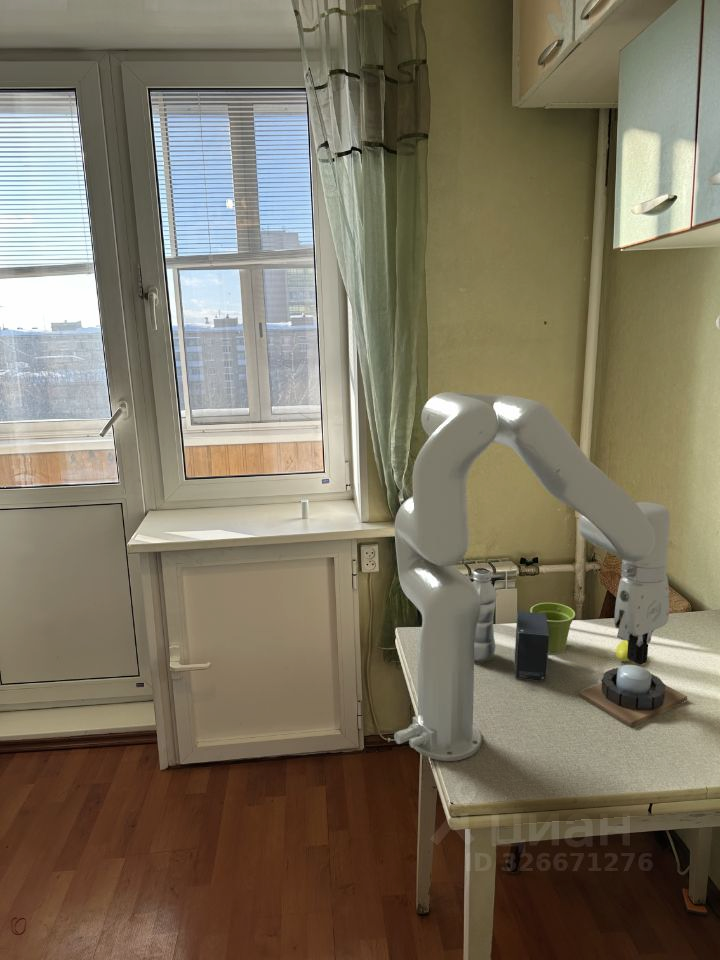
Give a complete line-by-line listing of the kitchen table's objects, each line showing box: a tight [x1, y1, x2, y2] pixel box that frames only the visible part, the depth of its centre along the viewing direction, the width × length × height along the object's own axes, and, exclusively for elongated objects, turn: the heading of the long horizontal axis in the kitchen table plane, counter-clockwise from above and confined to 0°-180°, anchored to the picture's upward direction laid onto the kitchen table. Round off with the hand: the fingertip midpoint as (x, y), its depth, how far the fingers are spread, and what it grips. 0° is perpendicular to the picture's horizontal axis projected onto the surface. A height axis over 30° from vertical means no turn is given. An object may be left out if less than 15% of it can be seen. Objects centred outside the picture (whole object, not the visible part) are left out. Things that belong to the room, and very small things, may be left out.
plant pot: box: [529, 602, 576, 655], centre depth 150 cm, size 9×9×9 cm
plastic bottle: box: [472, 567, 498, 662], centre depth 145 cm, size 6×7×20 cm
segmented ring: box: [601, 667, 667, 711], centre depth 131 cm, size 11×11×2 cm
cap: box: [616, 664, 652, 694], centre depth 130 cm, size 6×6×5 cm
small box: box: [514, 610, 549, 682], centre depth 142 cm, size 11×6×10 cm, turn 168°
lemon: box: [615, 640, 632, 662], centre depth 146 cm, size 4×8×4 cm, turn 140°
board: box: [578, 682, 688, 729], centre depth 131 cm, size 16×12×1 cm
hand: (636, 660), depth 129 cm, fingers closed
